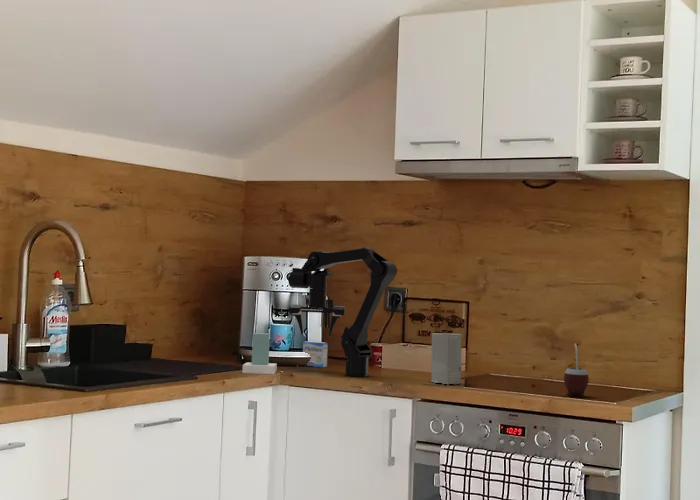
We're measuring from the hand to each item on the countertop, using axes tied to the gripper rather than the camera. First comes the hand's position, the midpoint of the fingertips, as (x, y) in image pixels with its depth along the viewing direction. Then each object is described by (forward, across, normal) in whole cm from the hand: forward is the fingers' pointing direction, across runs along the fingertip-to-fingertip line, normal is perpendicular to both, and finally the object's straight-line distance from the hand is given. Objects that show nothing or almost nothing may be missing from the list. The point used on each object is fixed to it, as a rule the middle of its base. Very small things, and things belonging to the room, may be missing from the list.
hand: (316, 335), depth 328 cm
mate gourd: (+12, -78, +40) cm, 89 cm away
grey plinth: (+12, +18, +8) cm, 23 cm away
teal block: (+10, +17, +8) cm, 22 cm away
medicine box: (+12, +1, -19) cm, 23 cm away
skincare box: (+12, -42, +21) cm, 48 cm away
